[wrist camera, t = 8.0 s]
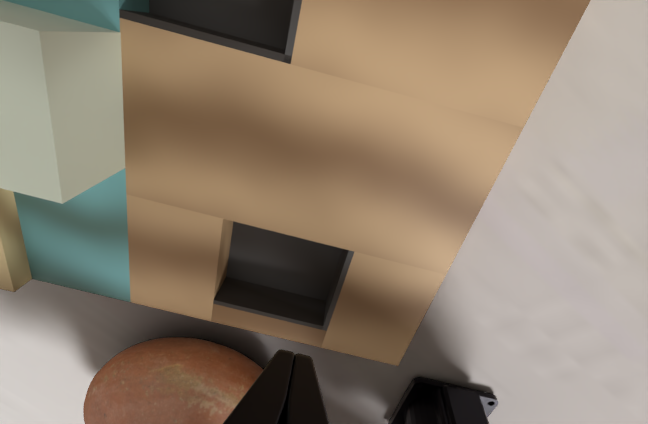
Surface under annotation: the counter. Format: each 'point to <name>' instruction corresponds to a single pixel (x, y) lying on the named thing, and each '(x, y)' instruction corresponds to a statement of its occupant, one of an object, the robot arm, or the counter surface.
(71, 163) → the block
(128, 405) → the ceramic jug
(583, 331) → the counter surface
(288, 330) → the toy board
